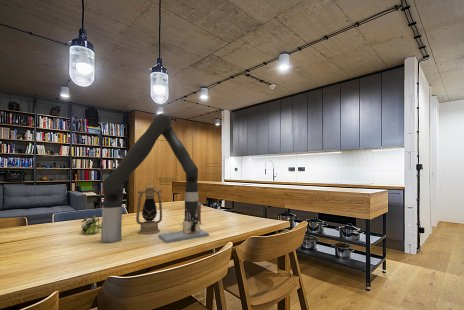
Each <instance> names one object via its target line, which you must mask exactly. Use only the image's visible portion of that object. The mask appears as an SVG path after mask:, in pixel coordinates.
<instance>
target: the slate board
mask: <svg viewBox="0 0 464 310" xmlns="http://www.w3.org/2000/svg"><path fill="white" fill-rule="evenodd" d="M157 234H158V233H157ZM209 236H210V233H209V232H207V231H205V230H203V229H201V228H200V233H193V234H187V235H186V234H184V233H183V230H179V231H172V232H171V231H170V232H166V233H159V234H158V239H160V240H162V241H163V242H165V243H166V244H169V243H176V242H181V241H186V240H187V241H188V240H193V239H200V238H203V237H204V238H205V237H209Z"/></svg>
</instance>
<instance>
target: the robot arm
mask: <svg viewBox="0 0 464 310" xmlns="http://www.w3.org/2000/svg"><path fill="white" fill-rule="evenodd" d="M160 136H163V137H164V139H165V140H166V142H167V143H168V146H169V147H170V149H171V151H172V152H173V154H174V156H175V158H176V159H177V161H178V162H179V164H180V165H181V168H182V169H183V171H184V173H185V184H184V189H185V190H184V191H185V193H184V220H185V221H191V232H195V229H196V224H198V217H199V214H197V213H196V209H197V208H198V203H199V185H198V184H199V183H198V180H199V168H198V167H197V165H196V164H195V162H194V161H193V159H192V158H191V156H190V153H189V151H188V150H187V149H186V147H185V145H184V144H183V143H182V141H181V140H180V139H179V138H178V136H177V134H176V133H175V131H174V128H173V125H172V119H171V117H170V115H169V114H168V113H165V112H162V113H158V114H157V115H156V116H155V117H154V118H153V119H152V121H151V123H150V125H149V126H148V127H147V129H146V130H145V131H144V133H143V134H142V135H141V136H140V137H138V139H137V140H136V142H135V143H134V144H132V145H131V147H130V148H129V149H128V151H127V153H125V155H124V157H123V158H122V159H121V161H120V162H119V164H118V165H117V167H116V168H115V169H114V170H113V171H112V172H111V173H110V174H109V175H107V177H105V178H104V179H103V182H102V190H103V191H104V192H103V194H104V195H103V201H102V215H101V223H100V224H101V225H100V226H101V229H100V241H101V243H102V244H103V243H108V244H109V243H115V242H118V241H121V240H122V228H123V227H122V226H123V225H122V224H123V223H122V222H123V219H122V218H123V201H124V184H125V182H126V181H127V179H128V177H129V176H130V175H131V174H132V173H133V172H134V171H135V170H136V169H137V168H139V166H140V165H141V164H142V163H144V161H145V159H147V157H148V156H149V154H150V153H151V151H152V150H153V148H154V146H155V144H156V142H157V140H158V139H159V137H160ZM185 209H187V211H185Z"/></svg>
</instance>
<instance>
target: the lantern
mask: <svg viewBox="0 0 464 310" xmlns="http://www.w3.org/2000/svg"><path fill="white" fill-rule="evenodd" d="M144 193H145V194H144ZM155 193H156V194H155ZM161 194H162V189H159V190H158V189H155V185H152V184H148V185H146V186H145V189H144V190H140V189H138V191H137V196H138V198H137V204H136V206H137V208H136V219H135V220H136V221H135V222H136V223H137V224H138V225H140V227H139V228H140V229H139V230H138V232H137V233H138V234H139V235H154V234H158V233H160V232H161V230H160V229H159V224H160V223H161V222H162V221H163V205H162V204H163V203H162V195H161ZM156 195H157V197H158V198H157V199H158V209H157V204H156V201H155V196H156ZM143 196H145V200H144V204H143V205H142V211H141V202H142V197H143ZM140 213H141V216H142V218H143V219H144V220H143V219H142V221H143V222H142V221H140V220H141V218H140ZM158 214H159V218H158V220H155V219H156V218H157V215H158Z"/></svg>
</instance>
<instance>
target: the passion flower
mask: <svg viewBox="0 0 464 310" xmlns="http://www.w3.org/2000/svg"><path fill="white" fill-rule="evenodd" d="M81 223H83V224H82V225H81V227H80V228H81V229H82V230H81V231H80V232H81V233H82V232H83V234H84V233H85V234H86V236H88V235H89V234H92V233H94V232H96V231H97V230H98V232H100V230H101V223H100V218H99V217H97V215H94V216H92V217H91V218H89V217H87V216H86V217H85V218H83V220H82V221H81ZM96 223H97V224H96Z"/></svg>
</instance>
